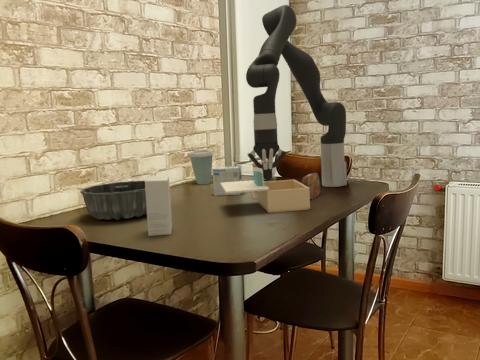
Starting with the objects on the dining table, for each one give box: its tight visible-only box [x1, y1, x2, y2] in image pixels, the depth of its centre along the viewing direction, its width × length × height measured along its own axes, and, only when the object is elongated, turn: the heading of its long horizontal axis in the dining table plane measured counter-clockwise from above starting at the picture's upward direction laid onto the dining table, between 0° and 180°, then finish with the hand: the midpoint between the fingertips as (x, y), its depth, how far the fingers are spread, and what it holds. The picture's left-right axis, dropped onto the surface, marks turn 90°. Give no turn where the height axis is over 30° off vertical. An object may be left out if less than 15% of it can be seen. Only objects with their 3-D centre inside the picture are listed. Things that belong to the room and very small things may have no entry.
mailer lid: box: [220, 170, 269, 194], centre depth 161 cm, size 14×19×5 cm
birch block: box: [251, 181, 265, 200], centre depth 180 cm, size 4×4×6 cm
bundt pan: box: [79, 180, 147, 221], centre depth 163 cm, size 26×26×10 cm
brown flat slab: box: [301, 172, 321, 200], centre depth 175 cm, size 15×3×8 cm, turn 154°
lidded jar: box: [252, 161, 277, 180], centre depth 221 cm, size 11×11×9 cm
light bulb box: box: [212, 165, 243, 197], centre depth 191 cm, size 11×7×11 cm, turn 84°
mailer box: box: [257, 179, 311, 214], centre depth 163 cm, size 14×19×7 cm
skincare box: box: [144, 174, 173, 237], centre depth 137 cm, size 8×7×16 cm
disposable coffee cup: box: [188, 149, 214, 185], centre depth 221 cm, size 11×11×15 cm
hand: (267, 180), depth 160 cm, fingers closed
